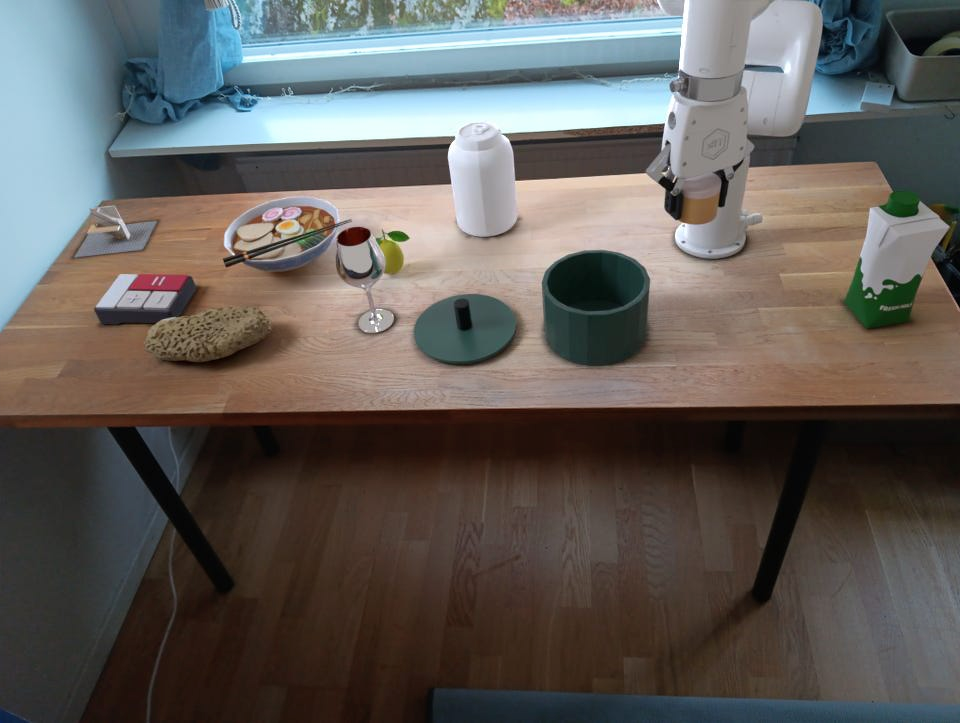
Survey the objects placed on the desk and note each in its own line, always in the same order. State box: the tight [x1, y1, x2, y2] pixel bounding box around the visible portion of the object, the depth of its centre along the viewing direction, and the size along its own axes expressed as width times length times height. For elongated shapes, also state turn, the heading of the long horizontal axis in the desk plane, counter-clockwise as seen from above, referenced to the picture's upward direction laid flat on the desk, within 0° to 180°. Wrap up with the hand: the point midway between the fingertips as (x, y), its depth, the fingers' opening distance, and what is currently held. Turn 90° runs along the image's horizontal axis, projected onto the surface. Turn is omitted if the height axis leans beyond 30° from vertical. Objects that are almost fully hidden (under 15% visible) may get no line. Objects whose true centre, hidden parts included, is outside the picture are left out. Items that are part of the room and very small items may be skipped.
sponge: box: [143, 305, 272, 363], centre depth 126 cm, size 13×8×20 cm
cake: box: [677, 172, 721, 225], centre depth 99 cm, size 6×6×5 cm
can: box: [447, 120, 519, 238], centre depth 142 cm, size 12×12×20 cm
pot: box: [541, 249, 651, 367], centre depth 117 cm, size 17×17×11 cm
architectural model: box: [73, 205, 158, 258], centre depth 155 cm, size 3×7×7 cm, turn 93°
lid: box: [413, 293, 517, 365], centre depth 122 cm, size 18×18×6 cm
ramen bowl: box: [222, 195, 353, 272], centre depth 143 cm, size 25×23×8 cm
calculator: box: [93, 273, 197, 325], centre depth 137 cm, size 11×4×15 cm
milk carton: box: [843, 189, 951, 330], centre depth 110 cm, size 9×9×20 cm
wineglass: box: [335, 225, 395, 334], centre depth 122 cm, size 8×8×18 cm
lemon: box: [374, 229, 411, 275], centre depth 135 cm, size 7×6×10 cm
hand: (694, 207), depth 101 cm, fingers closed on cake, 6 cm apart
